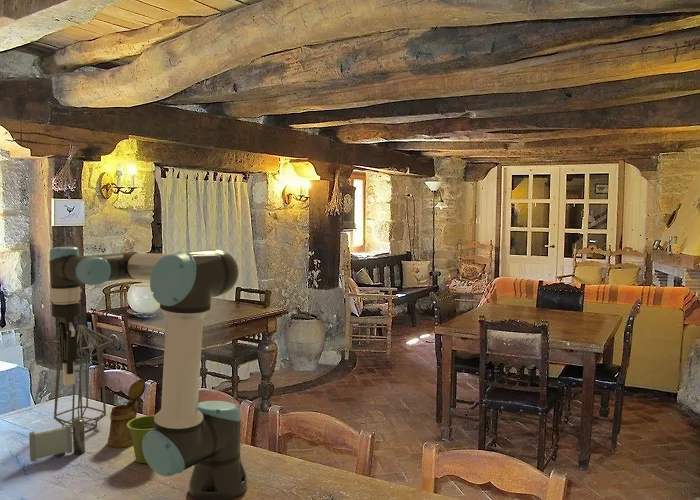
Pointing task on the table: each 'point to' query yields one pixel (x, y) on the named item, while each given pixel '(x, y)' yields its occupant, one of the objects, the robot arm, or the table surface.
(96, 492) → the table surface
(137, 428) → the plant pot
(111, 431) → the wooden mug
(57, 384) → the geometric lantern
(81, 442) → the hinge post
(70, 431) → the grey-green flanged panel
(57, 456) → the block
